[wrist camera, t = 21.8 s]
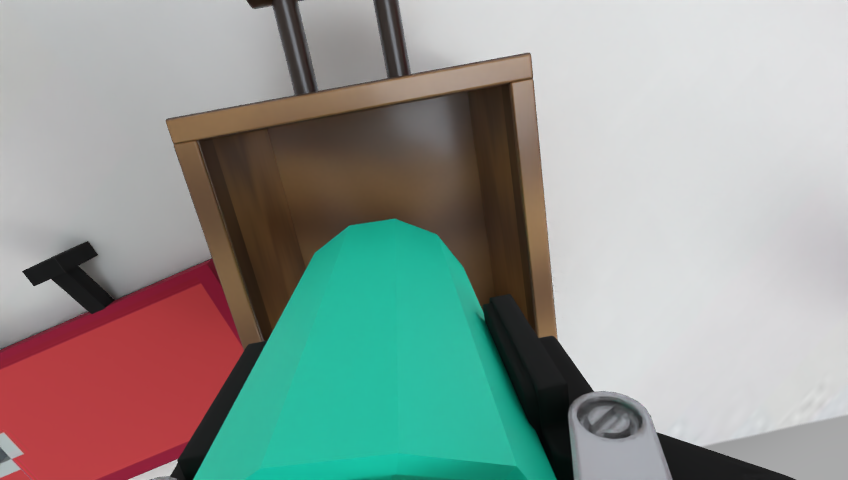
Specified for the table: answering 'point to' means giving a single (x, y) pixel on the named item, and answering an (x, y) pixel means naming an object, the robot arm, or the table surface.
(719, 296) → the table surface
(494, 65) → the wooden drawer
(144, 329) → the red board with handle
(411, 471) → the candle
